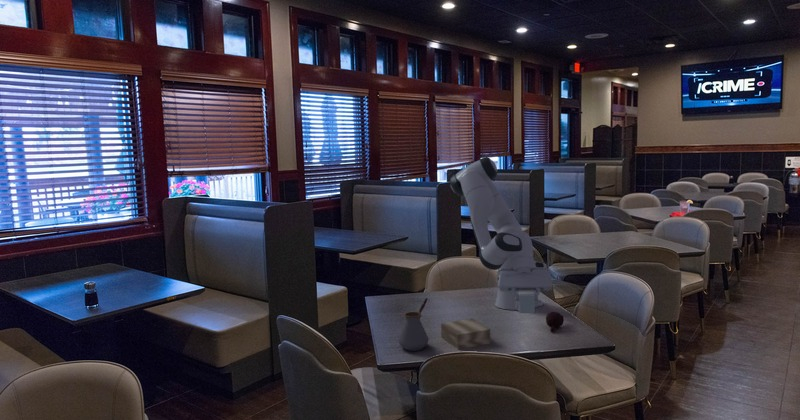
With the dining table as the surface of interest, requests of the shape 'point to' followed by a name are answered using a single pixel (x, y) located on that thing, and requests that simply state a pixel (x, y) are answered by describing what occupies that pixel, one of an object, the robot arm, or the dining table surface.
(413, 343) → the coffee pot
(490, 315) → the dining table surface
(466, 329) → the oak box
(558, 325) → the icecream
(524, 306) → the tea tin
